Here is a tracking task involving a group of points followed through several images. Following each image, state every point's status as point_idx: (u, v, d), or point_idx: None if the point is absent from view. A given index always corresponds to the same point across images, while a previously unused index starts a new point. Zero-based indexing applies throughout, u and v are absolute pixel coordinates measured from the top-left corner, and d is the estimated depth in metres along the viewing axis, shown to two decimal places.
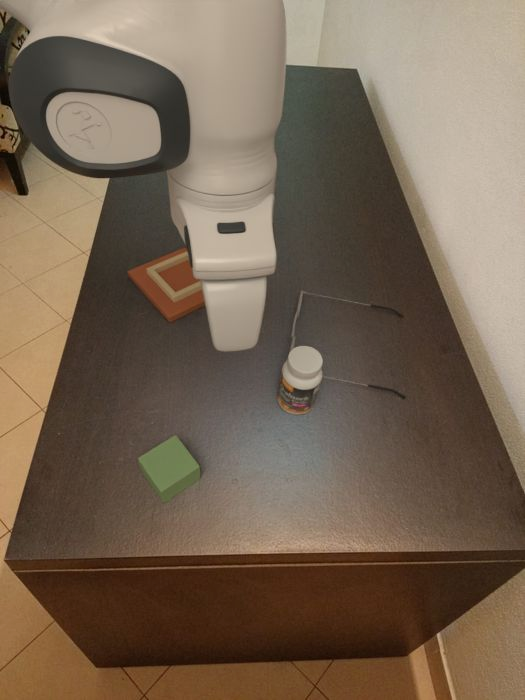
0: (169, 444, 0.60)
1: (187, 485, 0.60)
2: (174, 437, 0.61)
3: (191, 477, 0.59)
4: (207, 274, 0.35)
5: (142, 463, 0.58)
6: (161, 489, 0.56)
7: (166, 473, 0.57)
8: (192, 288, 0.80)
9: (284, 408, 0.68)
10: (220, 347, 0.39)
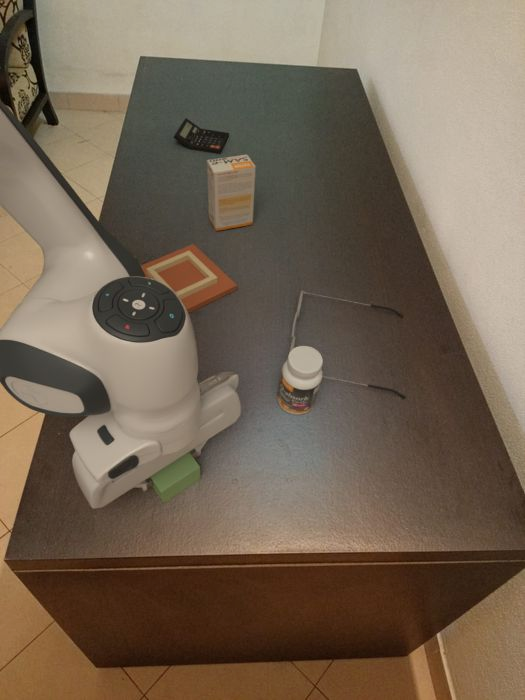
0: None
1: (187, 485, 0.60)
2: None
3: (191, 477, 0.59)
4: None
5: None
6: (162, 489, 0.56)
7: (167, 473, 0.57)
8: (192, 288, 0.80)
9: (284, 408, 0.68)
10: (79, 486, 0.51)
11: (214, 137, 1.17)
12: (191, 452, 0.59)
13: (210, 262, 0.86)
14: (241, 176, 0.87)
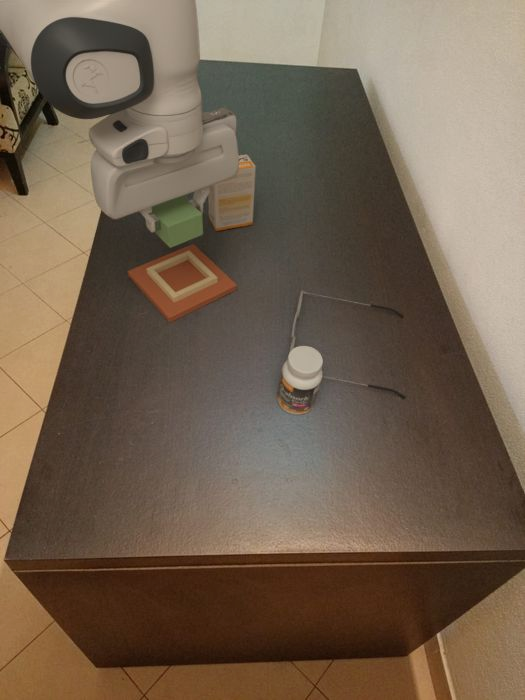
0: (175, 199, 0.67)
1: (191, 235, 0.67)
2: (180, 196, 0.68)
3: (195, 225, 0.66)
4: (91, 141, 0.54)
5: None
6: (168, 225, 0.63)
7: (173, 216, 0.65)
8: (192, 288, 0.80)
9: (284, 408, 0.68)
10: (96, 201, 0.59)
11: None
12: (194, 205, 0.67)
13: (210, 262, 0.86)
14: (241, 176, 0.87)
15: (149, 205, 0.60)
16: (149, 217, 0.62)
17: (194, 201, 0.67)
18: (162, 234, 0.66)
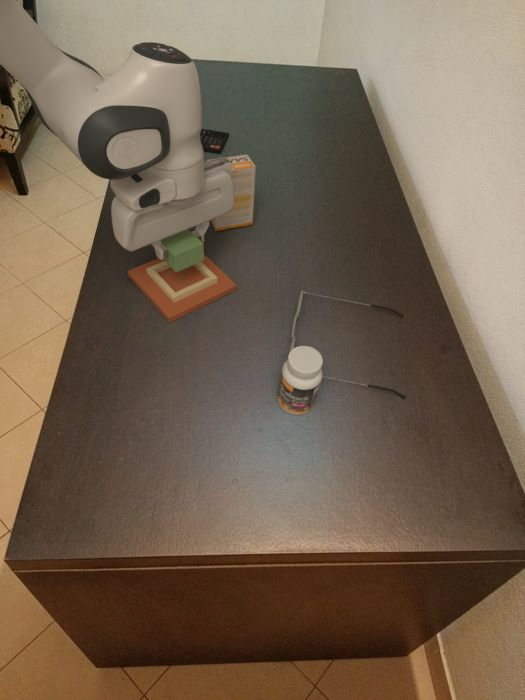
0: None
1: (194, 261, 0.78)
2: None
3: (197, 253, 0.77)
4: (112, 189, 0.66)
5: None
6: (175, 254, 0.75)
7: (178, 246, 0.76)
8: (192, 288, 0.80)
9: (284, 408, 0.68)
10: (115, 236, 0.70)
11: (214, 137, 1.17)
12: (196, 235, 0.78)
13: (210, 262, 0.86)
14: (241, 176, 0.87)
15: (159, 238, 0.72)
16: (159, 248, 0.74)
17: (196, 232, 0.79)
18: (169, 261, 0.77)
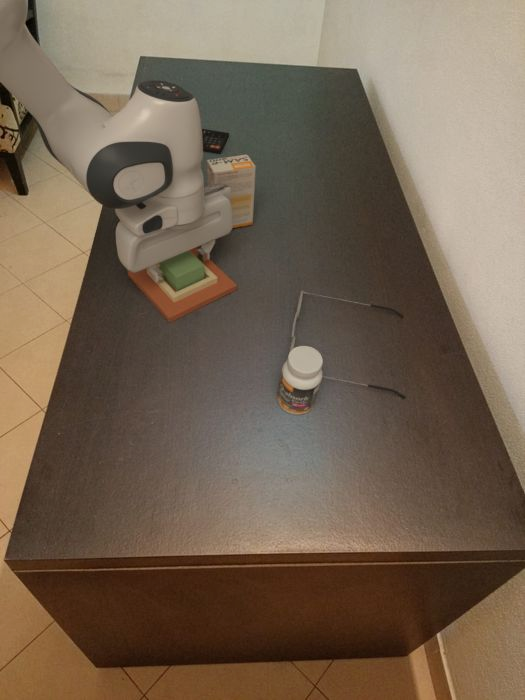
0: (181, 253, 0.82)
1: (195, 282, 0.82)
2: None
3: (198, 274, 0.81)
4: (117, 215, 0.69)
5: (162, 262, 0.80)
6: (177, 276, 0.78)
7: (180, 268, 0.80)
8: (192, 288, 0.80)
9: (284, 408, 0.68)
10: (119, 258, 0.73)
11: (214, 137, 1.17)
12: (203, 253, 0.82)
13: (210, 262, 0.86)
14: (241, 176, 0.87)
15: (161, 260, 0.75)
16: (154, 271, 0.77)
17: (202, 250, 0.82)
18: (171, 282, 0.81)
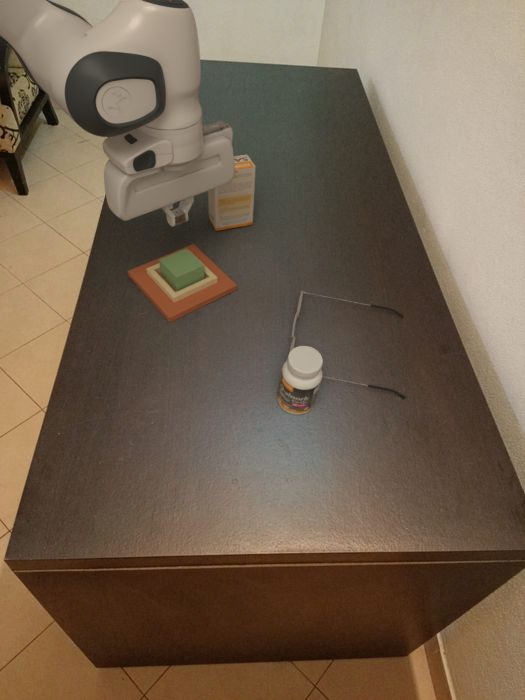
0: (181, 253, 0.82)
1: (195, 282, 0.82)
2: (185, 249, 0.83)
3: (198, 274, 0.81)
4: (105, 152, 0.61)
5: (162, 262, 0.80)
6: (177, 276, 0.78)
7: (180, 268, 0.80)
8: (192, 288, 0.80)
9: (284, 408, 0.68)
10: (108, 204, 0.66)
11: None
12: (180, 213, 0.73)
13: (210, 262, 0.86)
14: (241, 176, 0.87)
15: (155, 208, 0.68)
16: (170, 213, 0.71)
17: (180, 209, 0.73)
18: (171, 282, 0.81)
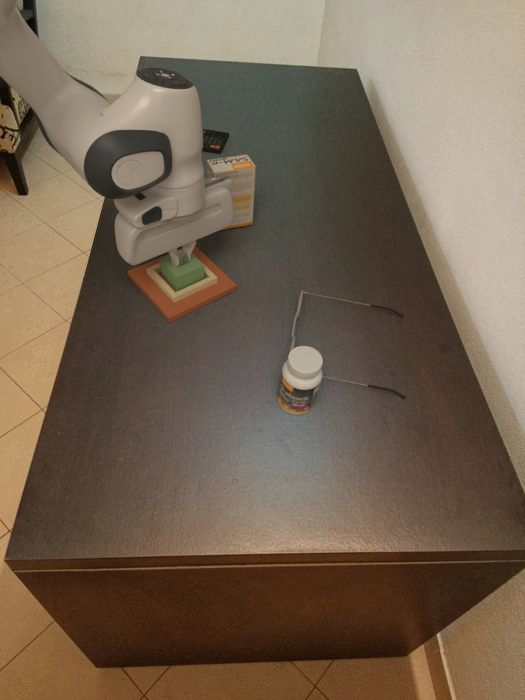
0: None
1: (195, 282, 0.82)
2: None
3: (198, 274, 0.81)
4: (116, 206, 0.68)
5: (162, 262, 0.80)
6: (177, 276, 0.78)
7: (180, 268, 0.80)
8: (192, 288, 0.80)
9: (284, 408, 0.68)
10: (118, 251, 0.72)
11: (214, 137, 1.17)
12: (183, 255, 0.79)
13: (210, 262, 0.86)
14: (241, 176, 0.87)
15: (161, 253, 0.74)
16: (174, 255, 0.77)
17: (183, 251, 0.80)
18: (171, 282, 0.81)
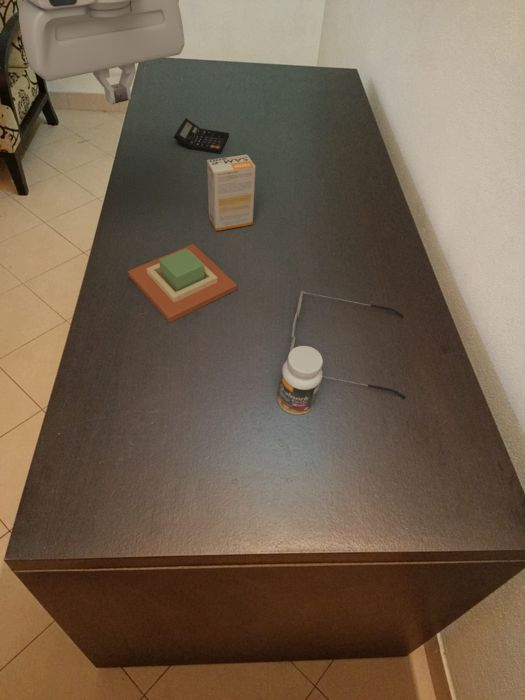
0: (181, 253, 0.82)
1: (195, 282, 0.82)
2: (185, 249, 0.83)
3: (198, 274, 0.81)
4: None
5: (162, 262, 0.80)
6: (177, 276, 0.78)
7: (180, 268, 0.80)
8: (192, 288, 0.80)
9: (284, 408, 0.68)
10: (28, 62, 0.56)
11: (214, 137, 1.17)
12: (120, 88, 0.63)
13: (210, 262, 0.86)
14: (241, 176, 0.87)
15: (86, 70, 0.57)
16: (107, 83, 0.61)
17: (120, 85, 0.63)
18: (171, 282, 0.81)
